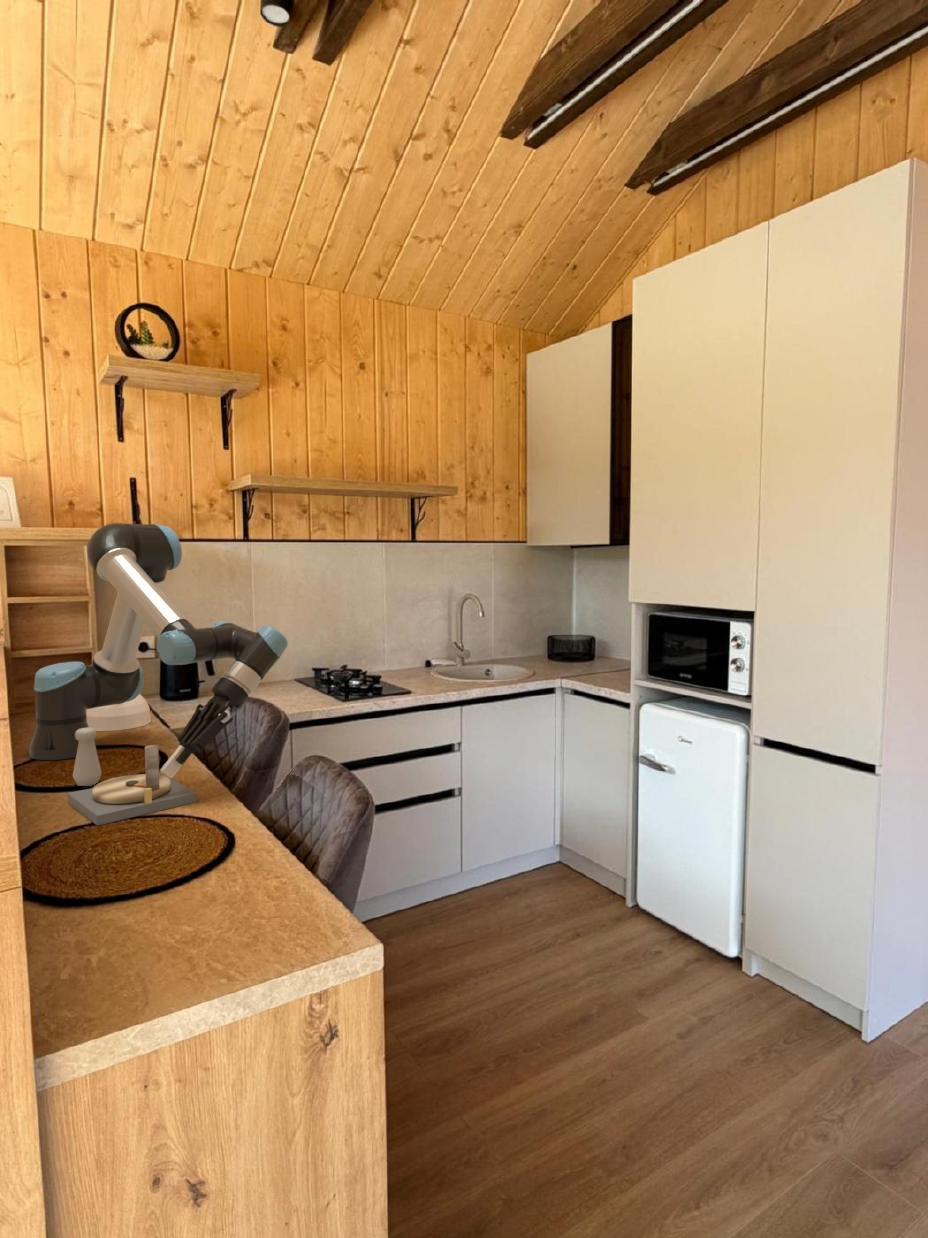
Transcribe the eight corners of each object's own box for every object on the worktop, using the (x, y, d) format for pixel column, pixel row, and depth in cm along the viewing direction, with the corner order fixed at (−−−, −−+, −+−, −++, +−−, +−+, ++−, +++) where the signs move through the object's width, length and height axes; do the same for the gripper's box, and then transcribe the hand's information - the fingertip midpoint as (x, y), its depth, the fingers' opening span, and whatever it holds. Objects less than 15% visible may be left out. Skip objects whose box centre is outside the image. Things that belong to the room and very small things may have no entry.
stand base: (67, 802, 153) (67, 779, 153) (162, 782, 168) (161, 761, 167) (97, 825, 141) (96, 800, 140) (196, 801, 155) (196, 779, 154)
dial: (76, 796, 150) (74, 747, 149) (136, 777, 164) (134, 731, 163) (127, 808, 144) (126, 756, 143) (185, 786, 158) (184, 739, 157)
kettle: (149, 714, 238) (147, 659, 236) (153, 727, 219) (152, 669, 218) (79, 719, 229) (77, 663, 227) (78, 734, 210) (76, 673, 209)
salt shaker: (89, 789, 162) (87, 732, 161) (67, 787, 163) (65, 731, 162) (107, 781, 168) (105, 726, 167) (85, 779, 169) (83, 725, 168)
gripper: (261, 699, 160) (192, 791, 150) (233, 692, 169) (165, 777, 159) (238, 679, 156) (165, 771, 146) (210, 672, 165) (139, 759, 155)
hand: (165, 774), depth 152 cm, fingers closed
